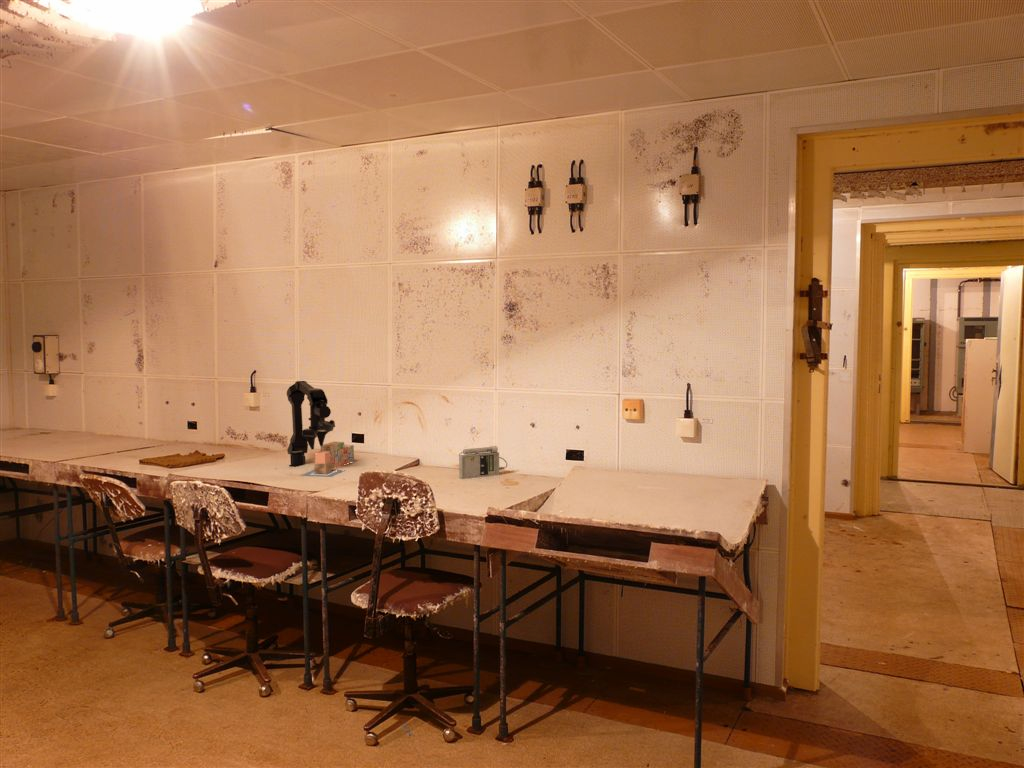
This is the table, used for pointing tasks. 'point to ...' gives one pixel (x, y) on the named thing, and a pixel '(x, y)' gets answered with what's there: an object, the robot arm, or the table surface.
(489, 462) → the geiger counter
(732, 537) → the table surface
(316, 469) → the walnut base block
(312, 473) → the board
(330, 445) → the stack of blocks
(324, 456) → the terracotta cube
